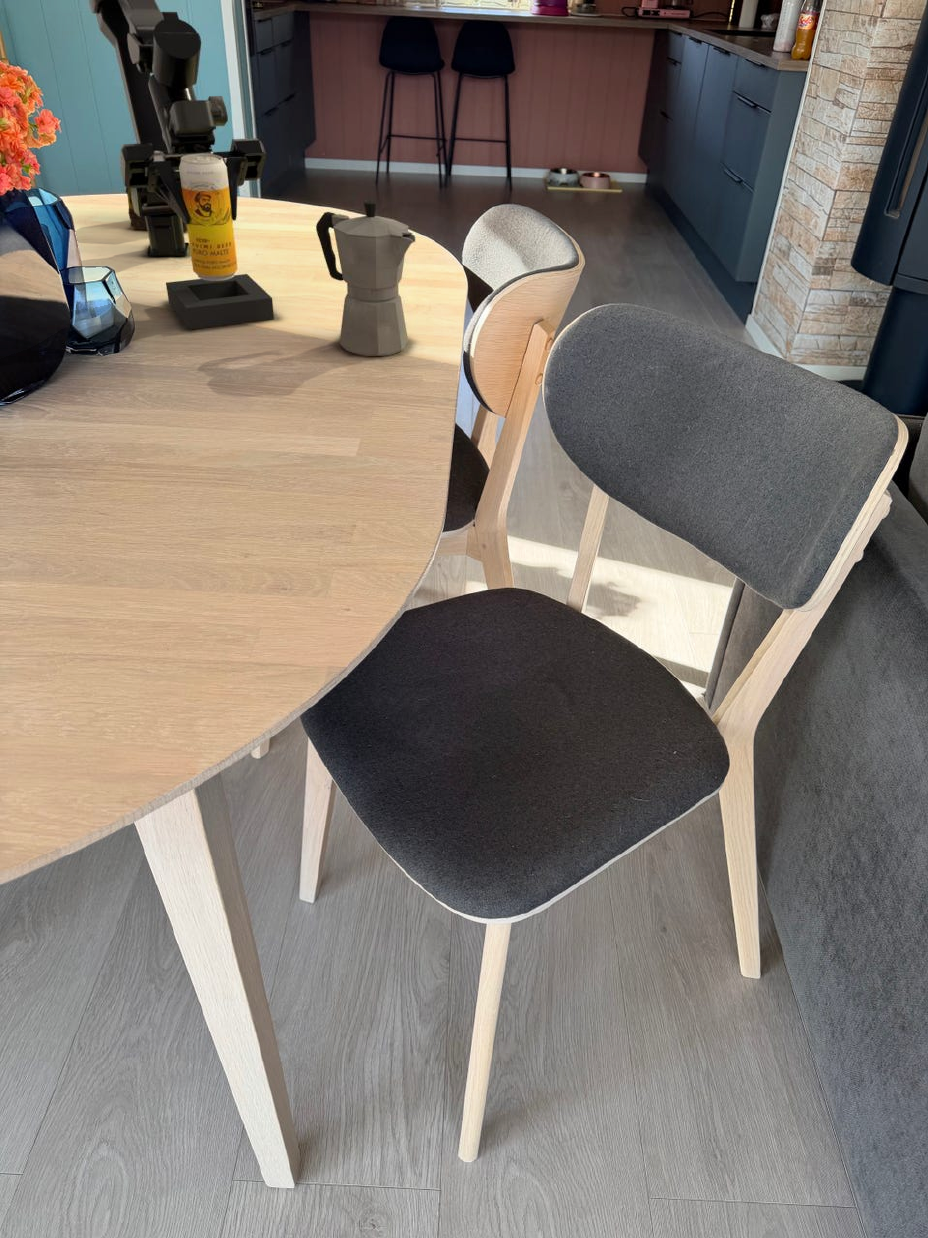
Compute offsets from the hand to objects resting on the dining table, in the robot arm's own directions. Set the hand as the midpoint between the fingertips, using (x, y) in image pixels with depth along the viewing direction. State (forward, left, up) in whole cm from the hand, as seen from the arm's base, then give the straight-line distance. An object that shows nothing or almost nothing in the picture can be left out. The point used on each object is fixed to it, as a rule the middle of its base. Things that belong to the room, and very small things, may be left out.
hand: (211, 220), depth 121 cm
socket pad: (-1, 0, -12) cm, 13 cm away
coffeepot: (+13, +20, -13) cm, 27 cm away
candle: (-50, -12, -13) cm, 53 cm away
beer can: (-1, 0, -8) cm, 8 cm away
